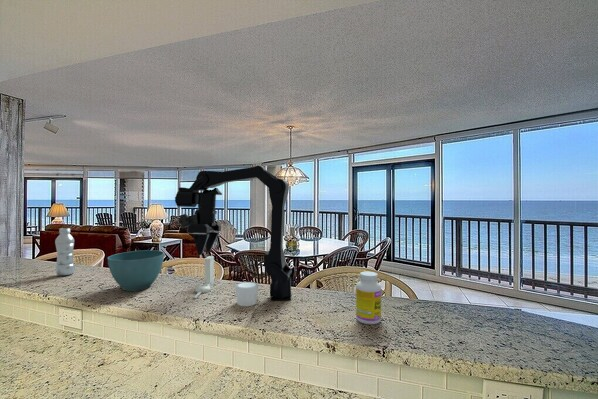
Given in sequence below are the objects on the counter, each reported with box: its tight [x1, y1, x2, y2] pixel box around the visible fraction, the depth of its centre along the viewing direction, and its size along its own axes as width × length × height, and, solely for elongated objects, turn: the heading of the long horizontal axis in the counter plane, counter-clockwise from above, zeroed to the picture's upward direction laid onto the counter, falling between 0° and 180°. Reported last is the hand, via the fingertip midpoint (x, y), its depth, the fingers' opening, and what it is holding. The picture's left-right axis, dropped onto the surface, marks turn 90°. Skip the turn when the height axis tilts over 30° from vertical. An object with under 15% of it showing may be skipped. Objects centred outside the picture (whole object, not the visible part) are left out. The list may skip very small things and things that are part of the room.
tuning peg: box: [193, 255, 215, 299], centre depth 102 cm, size 5×17×10 cm, turn 0°
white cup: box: [235, 281, 259, 309], centre depth 90 cm, size 7×7×7 cm
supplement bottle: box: [355, 271, 382, 325], centre depth 81 cm, size 7×7×13 cm
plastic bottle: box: [54, 227, 76, 277], centre depth 126 cm, size 6×7×20 cm
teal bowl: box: [107, 249, 165, 292], centre depth 109 cm, size 18×18×12 cm
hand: (204, 253), depth 101 cm, fingers open, 9 cm apart
